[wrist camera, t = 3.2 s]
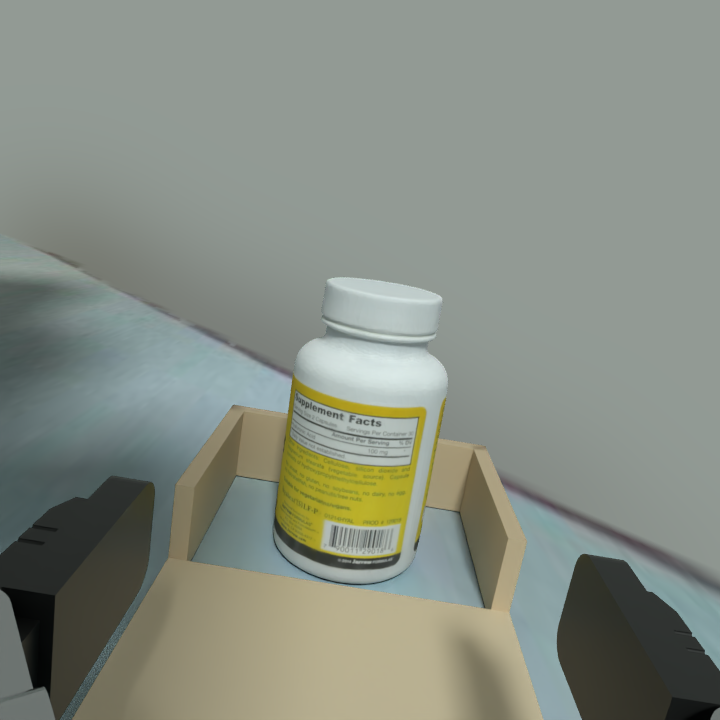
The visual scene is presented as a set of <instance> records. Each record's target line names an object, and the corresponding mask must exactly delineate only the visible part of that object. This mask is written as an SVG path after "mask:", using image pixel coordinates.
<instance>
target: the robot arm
mask: <svg viewBox="0 0 720 720" xmlns="http://www.w3.org/2000/svg"><path fill="white" fill-rule="evenodd" d="M154 497H155V489H154V484H153V483H152V482H148V481H141V480H135V479H129V478H123V477H117V476H111V477H109V478H108V479H107V480H106V481H105V482H104V483H103V484H102V485H101V486H100V487H99V488H98V489H97V490H96V491H95V492H94V493H93V494H92V495H91V496H90V497H89V498H88V499H84V498H78V497H75V498H73V499H71V500H69V501H66V502H64V503H62V504H60V505H57V506H55V507H53V508H51V509H49V510H48V511H47V512H46V513H45V514H44V515H43V516H42V517H41V518H40V519H38V520H37V521H36V522H35V523H34V524H33V527H32V528H29V529H28V530H27V531H26V532H24V533H23V534H22V535H21V536H20V537H19V539H18V542H17V541H15V542H14V543H13V544H11V545H10V546H9V547H8V548H7V549H6V550H5V551H4V552H3V553H2V554H1V555H0V720H60V718H61V717H62V715H63V713H64V712H65V710H66V708H67V707H68V705H69V704H70V702H71V700H72V699H73V697H74V696H75V694H76V692H77V691H78V689H79V687H80V686H81V684H82V683H83V681H84V679H85V678H86V676H87V675H88V673H89V671H90V670H91V668H92V667H93V665H94V663H95V662H96V660H97V658H98V657H99V655H100V654H101V652H102V650H103V649H104V647H105V646H106V644H107V642H108V641H109V639H110V637H111V636H112V634H113V633H114V631H115V629H116V628H117V626H118V625H119V623H120V621H121V620H122V618H123V617H124V615H125V613H126V612H127V610H128V608H129V607H130V605H131V604H132V602H133V600H134V599H135V597H136V596H137V594H138V592H139V590H140V588H141V586H142V583H143V580H144V577H145V574H146V570H147V566H148V561H149V552H150V541H151V530H152V519H153V508H154ZM557 652H558V658H559V662H560V664H561V667H562V670H563V672H564V675H565V677H566V680H567V682H568V685H569V687H570V690H571V693H572V695H573V698H574V700H575V703H576V705H577V708H578V710H579V713H580V716H581V718H582V720H720V671H719V669H718V668H717V667H716V665H715V664H714V663H713V661H712V660H711V658H710V657H709V656H708V655H705V650H704V649H703V647H702V646H701V645H700V643H699V642H698V641H697V639H696V638H695V637H692V632H691V631H690V630H689V628H688V627H687V625H686V624H685V623H684V621H683V620H682V618H681V617H680V616H679V614H678V613H677V612H676V611H675V610H674V609H672V608H671V607H670V606H669V605H668V604H666V603H665V602H664V601H663V600H661V599H660V598H659V597H658V596H657V595H655V594H654V593H653V592H648V591H646V589H645V588H644V586H643V585H642V584H641V582H640V581H639V579H638V578H637V576H636V575H635V573H634V572H633V570H632V569H631V568H630V566H629V565H628V563H627V562H625V561H624V560H619V559H613V558H606V557H600V556H594V555H588V554H582V555H581V556H580V557H579V558H578V560H577V562H576V565H575V568H574V572H573V575H572V579H571V582H570V586H569V590H568V593H567V597H566V600H565V604H564V608H563V611H562V615H561V619H560V622H559V626H558V632H557Z"/></svg>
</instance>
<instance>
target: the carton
mask: <svg viewBox="0 0 720 720" xmlns="http://www.w3.org/2000/svg"><path fill="white" fill-rule="evenodd" d="M287 417H288V414H286V413H280V412H274V411H268V410H262V409H256V408H250V407H244V406H238V405H233V406H232V407H231V409H230V410H229V411H228V413H227V414H226V415H225V417H224V418H223V420H222V421H221V422H220V424H219V425H218V427H217V428H216V429H215V431H214V432H213V433H212V435H211V436H210V438H209V439H208V440H207V442H206V443H205V444H204V446H203V447H202V449H201V450H200V451H199V453H198V454H197V455H196V457H195V458H194V460H193V461H192V462H191V464H190V465H189V467H188V468H187V469H186V471H185V472H184V473H183V475H182V476H181V478H180V479H179V480H178V482H177V483H176V484H175V494H174V504H173V514H172V525H171V535H170V545H169V555H168V559H167V561H166V562H165V564H164V566H163V567H162V569H161V571H160V572H159V574H158V576H157V577H156V579H155V581H154V582H153V584H152V586H151V587H150V589H149V591H148V592H147V594H146V596H145V597H144V599H143V601H142V602H141V604H140V606H139V608H138V609H137V611H136V613H135V614H134V616H133V618H132V619H131V621H130V623H129V624H128V626H127V628H126V629H125V631H124V633H123V634H122V636H121V638H120V639H119V641H118V643H117V644H116V646H115V648H114V649H113V651H112V653H111V655H110V656H109V658H108V660H107V661H106V663H105V665H104V666H103V668H102V670H101V671H100V673H99V675H98V676H97V678H96V680H95V681H94V683H93V685H92V686H91V688H90V690H89V691H88V693H87V695H86V696H85V698H84V700H83V702H82V703H81V705H80V707H79V708H78V710H77V712H76V713H75V715H74V717H73V718H72V720H543V717H542V714H541V711H540V708H539V704H538V701H537V698H536V695H535V692H534V689H533V686H532V683H531V679H530V676H529V673H528V670H527V667H526V664H525V661H524V657H523V654H522V651H521V648H520V645H519V642H518V639H517V636H516V632H515V629H514V626H513V623H512V620H511V617H510V614H509V611H510V607H511V603H512V599H513V595H514V591H515V587H516V583H517V580H518V576H519V572H520V568H521V564H522V560H523V556H524V552H525V548H526V544H527V540H526V538H525V536H524V533H523V531H522V529H521V527H520V524H519V522H518V520H517V517H516V515H515V513H514V511H513V508H512V506H511V504H510V501H509V499H508V497H507V495H506V492H505V490H504V488H503V486H502V483H501V481H500V479H499V476H498V474H497V472H496V470H495V467H494V465H493V463H492V461H491V458H490V456H489V454H488V452H487V449H486V447H485V446H481V445H475V444H469V443H463V442H457V441H451V440H445V439H439V438H438V443H437V448H436V454H435V459H434V464H433V469H432V475H431V480H430V485H429V490H428V495H427V501H426V506H428V507H434V508H440V509H446V510H453V511H459V512H460V514H461V518H462V522H463V526H464V529H465V533H466V537H467V541H468V545H469V548H470V552H471V556H472V560H473V564H474V567H475V571H476V575H477V579H478V583H479V586H480V590H481V594H482V598H483V601H484V605H485V609H484V608H478V607H472V606H465V605H459V604H453V603H447V602H441V601H434V600H428V599H422V598H416V597H410V596H403V595H397V594H391V593H385V592H379V591H372V590H366V589H360V588H354V587H348V586H341V585H335V584H329V583H323V582H316V581H310V580H304V579H298V578H292V577H285V576H279V575H273V574H267V573H261V572H254V571H248V570H242V569H236V568H230V567H223V566H217V565H211V564H205V563H199V562H192V561H191V560H192V558H193V556H194V554H195V552H196V550H197V548H198V547H199V545H200V543H201V541H202V539H203V537H204V535H205V533H206V531H207V529H208V528H209V526H210V524H211V522H212V520H213V518H214V516H215V514H216V512H217V511H218V509H219V507H220V505H221V503H222V501H223V499H224V497H225V495H226V493H227V492H228V490H229V488H230V486H231V484H232V482H233V480H234V478H235V476H236V475H237V476H244V477H250V478H256V479H262V480H268V481H274V482H279V479H280V471H281V463H282V456H283V448H284V439H285V433H286V425H287Z"/></svg>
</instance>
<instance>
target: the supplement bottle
mask: <svg viewBox="0 0 720 720" xmlns="http://www.w3.org/2000/svg"><path fill="white" fill-rule="evenodd" d="M441 307H442V298H441V297H440V296H439V295H437V294H435V293H432V292H430V291H427V290H423V289H419V288H415V287H412V286H406V285H401V284H396V283H390V282H385V281H378V280H369V279H360V278H344V277H339V278H330V279H328V280H327V282H326V287H325V294H324V300H323V305H322V313H323V316H322V318H321V320H322V322H323V323H324V324H325V325H327V329H326V334H325V336H323V337H319V338H316V339H314V340H311V341H310V342H308V343H307V344H306V345H304V346H303V348H301V350H300V351H299V353H298V355H297V357H296V361H295V366H294V371H293V379H292V386H291V394H290V402H289V410H288V417H287V425H286V433H285V439H284V448H283V456H282V463H281V471H280V479H279V486H278V494H277V501H276V509H275V520H274V539H275V543H276V545H277V547H278V549H279V550H280V552H281V553H282V554H283V555H284V556H285V557H286V558H287V559H288V560H289V561H290V562H291V563H293V564H294V565H295V566H297V567H299V568H300V569H302V570H304V571H306V572H308V573H310V574H312V575H315V576H317V577H320V578H323V579H327V580H331V581H335V582H341V583H350V584H369V583H376V582H381V581H384V580H387V579H390V578H393V577H395V576H397V575H399V574H400V573H402V572H403V571H404V570H406V569H407V568H408V567H409V566H410V564H411V563H412V561H413V559H414V557H415V554H416V550H417V546H418V542H419V537H420V532H421V528H422V522H423V517H424V512H425V506H426V501H427V495H428V490H429V485H430V480H431V475H432V469H433V464H434V459H435V454H436V448H437V443H438V438H439V433H440V427H441V422H442V417H443V411H444V406H445V401H446V395H447V388H448V376H447V373H446V370H445V368H444V367H443V365H442V364H441V363H440V362H439V360H437V359H436V358H435V357H434V356H432V355H431V354H429V353H428V351H427V347H428V342H429V341H432V340H433V339H435V338H436V333H435V332H436V331H437V329H438V324H439V319H440V313H441Z"/></svg>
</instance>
